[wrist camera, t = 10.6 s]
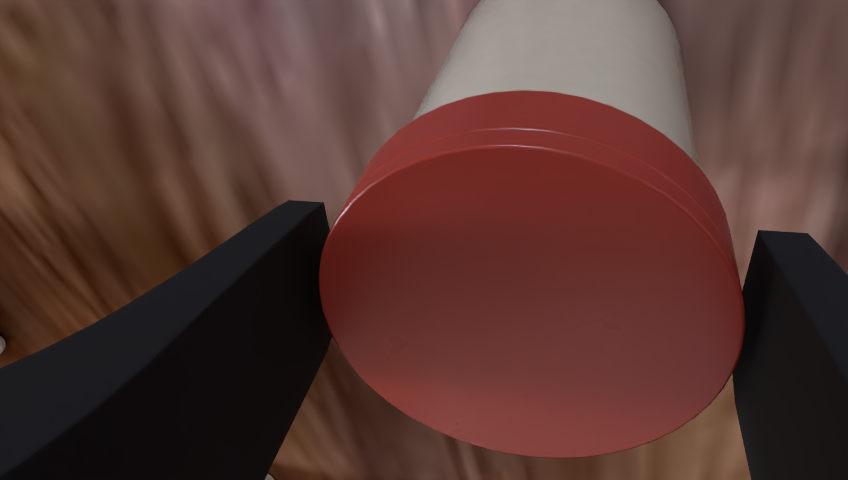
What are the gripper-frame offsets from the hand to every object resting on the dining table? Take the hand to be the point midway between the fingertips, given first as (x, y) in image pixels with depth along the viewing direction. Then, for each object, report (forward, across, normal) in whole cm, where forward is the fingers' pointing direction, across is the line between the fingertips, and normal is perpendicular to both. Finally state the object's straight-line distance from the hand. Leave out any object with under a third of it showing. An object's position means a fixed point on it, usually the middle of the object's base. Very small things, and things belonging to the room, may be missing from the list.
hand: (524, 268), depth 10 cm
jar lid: (-1, 0, 0) cm, 1 cm away
